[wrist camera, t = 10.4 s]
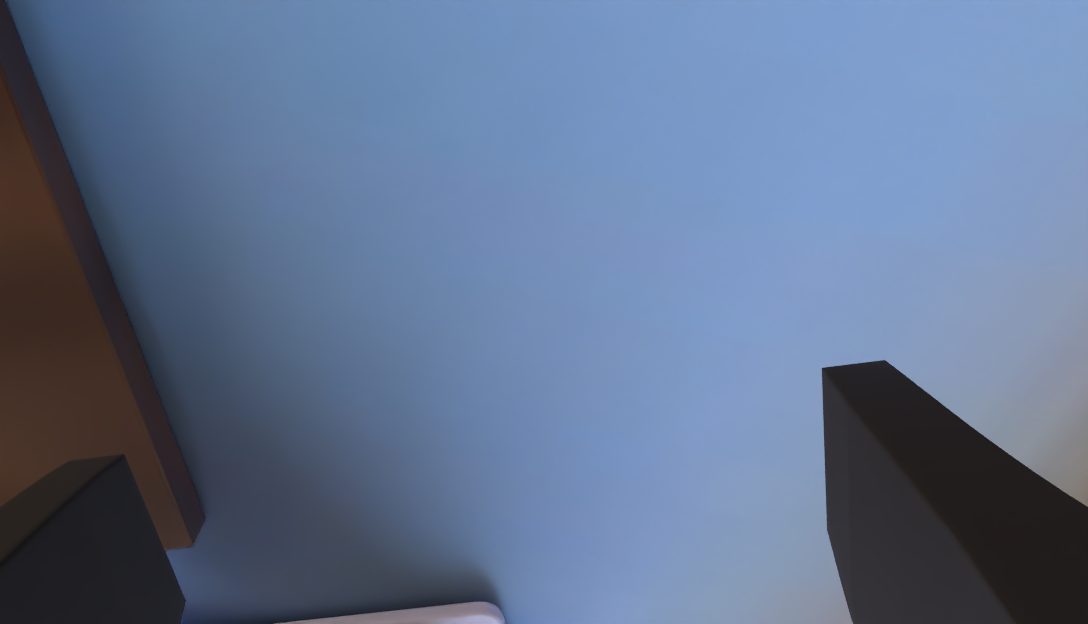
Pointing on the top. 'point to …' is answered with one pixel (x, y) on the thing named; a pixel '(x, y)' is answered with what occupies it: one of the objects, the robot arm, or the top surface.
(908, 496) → the robot arm
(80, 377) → the board
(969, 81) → the top surface
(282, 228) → the top surface
